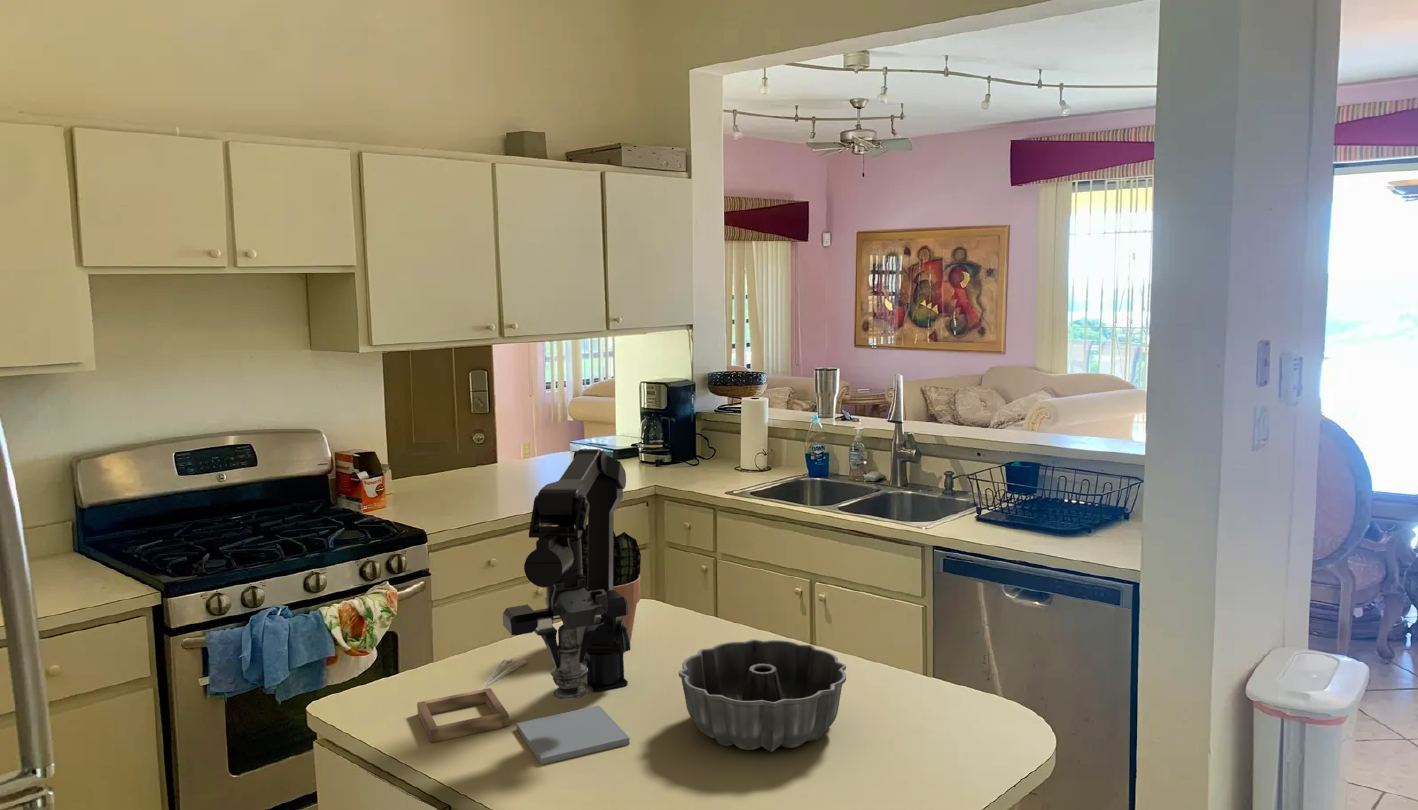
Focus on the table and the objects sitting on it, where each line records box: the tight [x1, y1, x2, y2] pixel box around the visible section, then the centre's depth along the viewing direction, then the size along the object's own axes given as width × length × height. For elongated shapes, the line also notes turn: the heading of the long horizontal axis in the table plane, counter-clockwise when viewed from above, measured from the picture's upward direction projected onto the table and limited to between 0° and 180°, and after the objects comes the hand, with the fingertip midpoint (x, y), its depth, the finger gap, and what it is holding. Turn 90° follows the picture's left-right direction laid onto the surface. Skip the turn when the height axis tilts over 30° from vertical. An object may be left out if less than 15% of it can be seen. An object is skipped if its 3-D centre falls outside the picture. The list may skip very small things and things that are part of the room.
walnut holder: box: [416, 687, 510, 744], centre depth 165 cm, size 12×12×2 cm
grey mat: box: [516, 704, 631, 766], centre depth 157 cm, size 14×14×1 cm
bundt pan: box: [678, 639, 847, 753], centre depth 158 cm, size 26×26×10 cm
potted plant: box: [581, 523, 642, 642], centre depth 198 cm, size 14×14×25 cm
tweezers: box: [480, 659, 528, 690], centre depth 182 cm, size 17×5×2 cm, turn 164°
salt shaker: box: [549, 624, 588, 700], centre depth 156 cm, size 6×6×12 cm
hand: (568, 664), depth 156 cm, fingers closed on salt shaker, 3 cm apart
